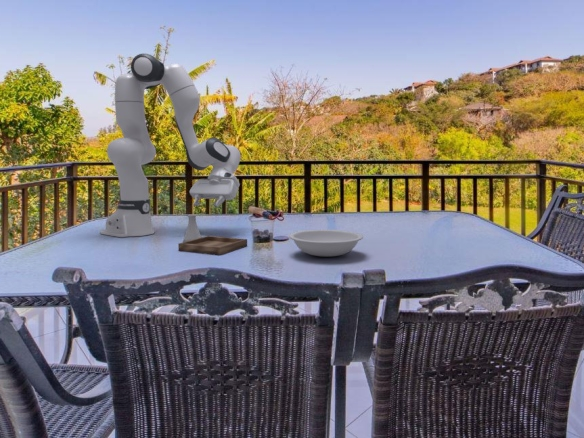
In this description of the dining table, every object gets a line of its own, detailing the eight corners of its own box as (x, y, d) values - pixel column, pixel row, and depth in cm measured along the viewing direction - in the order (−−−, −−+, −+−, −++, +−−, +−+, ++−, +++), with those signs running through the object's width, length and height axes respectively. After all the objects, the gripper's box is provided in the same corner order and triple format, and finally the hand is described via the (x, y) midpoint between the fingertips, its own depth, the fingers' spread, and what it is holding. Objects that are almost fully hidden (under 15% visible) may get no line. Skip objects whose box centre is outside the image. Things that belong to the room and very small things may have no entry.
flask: (198, 243, 179) (197, 216, 178) (179, 242, 181) (179, 216, 179) (205, 239, 186) (204, 214, 185) (187, 239, 188) (187, 213, 186)
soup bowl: (342, 267, 141) (343, 245, 141) (274, 258, 154) (274, 237, 153) (374, 252, 162) (374, 233, 161) (311, 245, 174) (311, 227, 173)
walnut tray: (178, 250, 165) (178, 243, 165) (208, 242, 180) (207, 235, 180) (220, 255, 158) (220, 247, 158) (247, 246, 173) (247, 239, 173)
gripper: (195, 173, 199) (180, 199, 192) (237, 174, 190) (224, 201, 183) (201, 183, 204) (188, 209, 196) (243, 185, 195) (230, 211, 187)
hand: (205, 205), depth 189 cm, fingers open, 8 cm apart
